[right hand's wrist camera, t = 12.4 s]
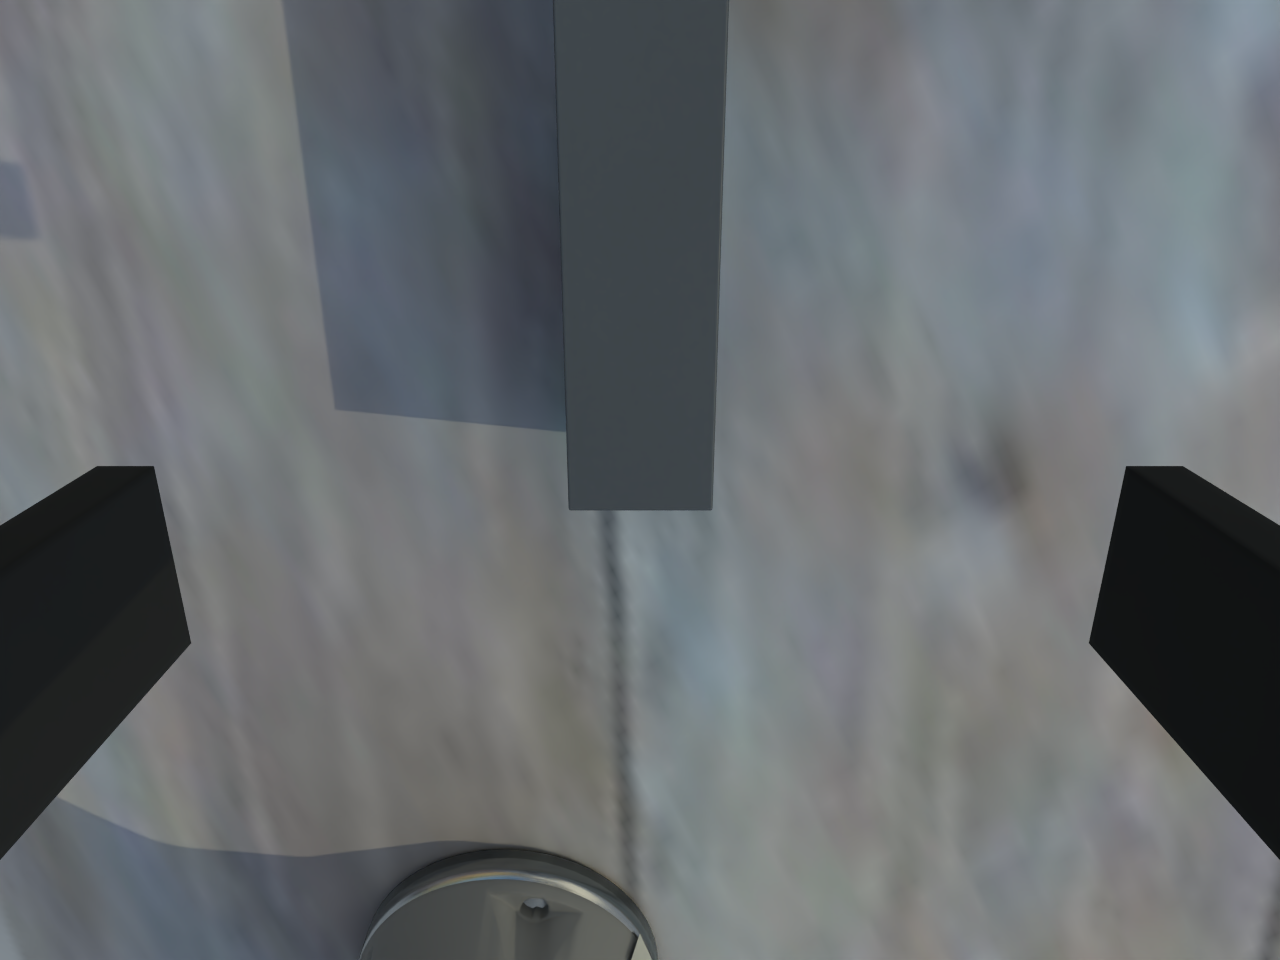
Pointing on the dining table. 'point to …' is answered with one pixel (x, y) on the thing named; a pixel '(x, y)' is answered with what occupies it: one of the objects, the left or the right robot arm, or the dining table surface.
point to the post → (640, 246)
